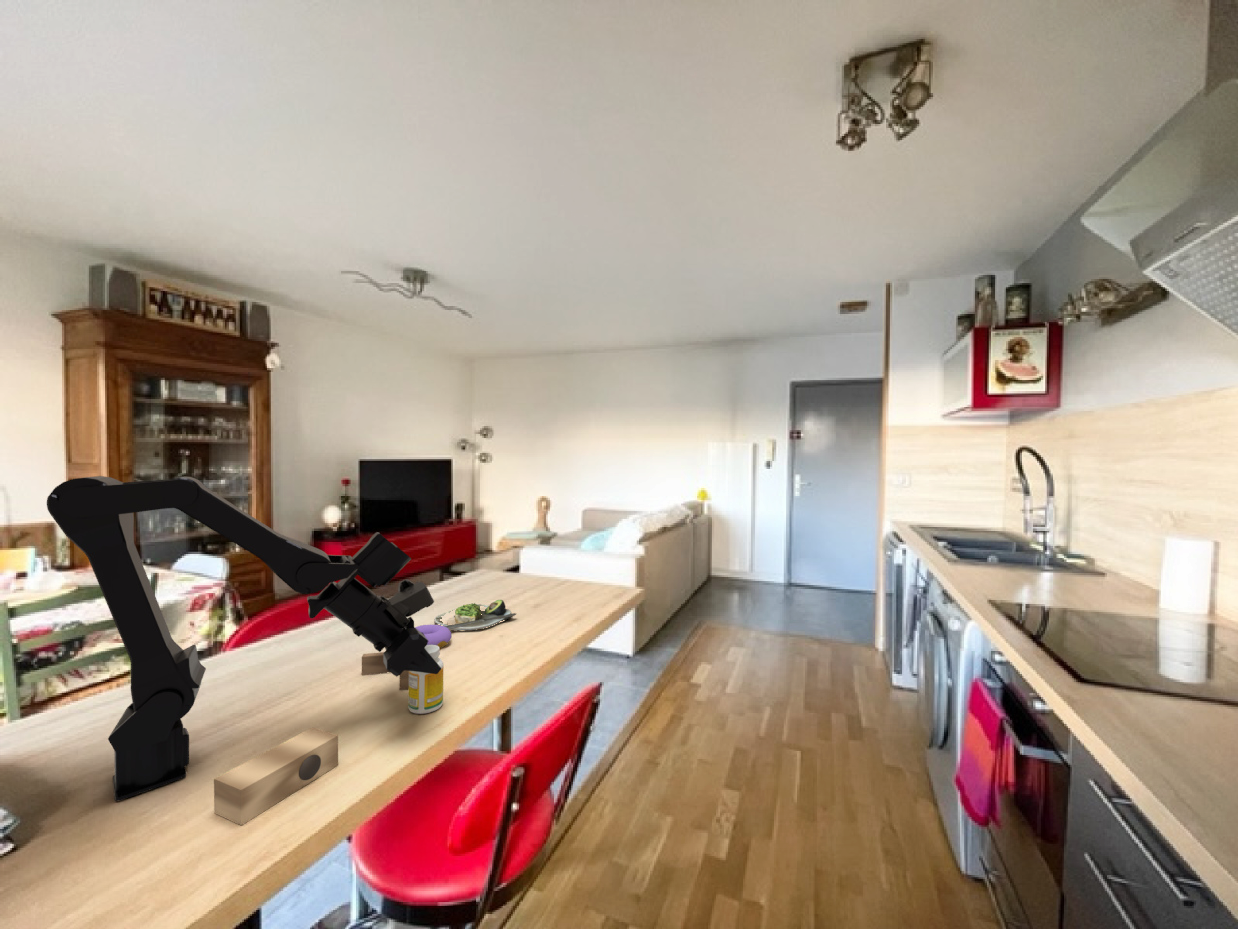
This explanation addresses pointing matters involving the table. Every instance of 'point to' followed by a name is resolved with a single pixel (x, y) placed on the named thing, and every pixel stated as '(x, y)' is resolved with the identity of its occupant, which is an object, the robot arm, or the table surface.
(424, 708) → the supplement bottle
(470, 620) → the salad plate
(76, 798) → the table surface
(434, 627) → the donut
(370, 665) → the v block
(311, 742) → the beam
